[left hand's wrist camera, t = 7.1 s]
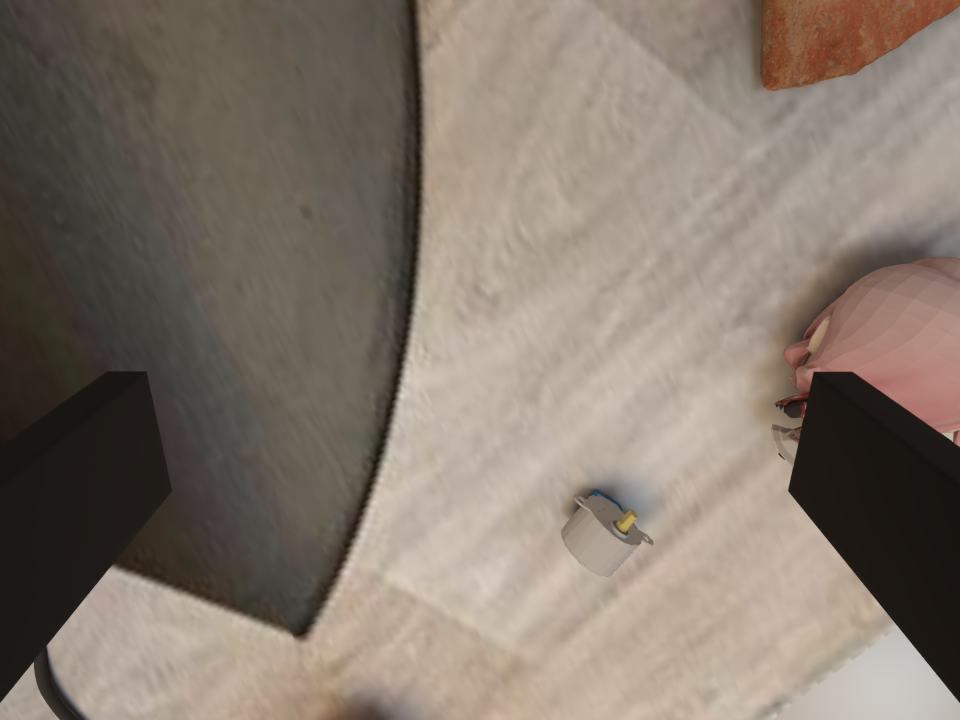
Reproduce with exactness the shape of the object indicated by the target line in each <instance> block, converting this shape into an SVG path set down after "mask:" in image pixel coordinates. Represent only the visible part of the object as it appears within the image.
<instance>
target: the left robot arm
mask: <svg viewBox="0 0 960 720" xmlns="http://www.w3.org/2000/svg"><path fill="white" fill-rule="evenodd" d="M171 491H172V489H171V484H170V480H169V475H168V470H167V466H166V461H165V456H164V452H163V447H162V442H161V437H160V433H159V428H158V423H157V419H156V414H155V409H154V405H153V400H152V395H151V391H150V386H149V381H148V377H147V372H106V373H105V374H103V375H102V376H100V377H99V378H98V379H96V380H95V381H93V382H92V383H90V384H89V385H88V386H86V387H85V388H83V389H82V390H80V391H79V392H78V393H76V394H75V395H73V396H72V397H70V398H69V399H68V400H66V401H65V402H63V403H62V404H60V405H59V406H58V407H56V408H55V409H53V410H52V411H50V412H49V413H48V414H46V415H45V416H43V417H42V418H40V419H39V420H38V421H36V422H35V423H33V424H32V425H30V426H29V427H28V428H26V429H25V430H23V431H22V432H20V433H19V434H18V435H16V436H15V437H13V438H12V439H10V440H9V441H8V442H6V443H5V444H3V445H2V446H0V702H1V701H2V700H3V699H4V698H5V696H6V695H7V694H8V693H9V691H10V690H11V689H12V688H13V686H14V685H15V684H16V683H17V681H18V680H19V679H20V678H21V677H22V675H23V674H24V673H25V672H26V670H27V669H28V668H29V667H30V665H31V664H32V663H33V662H34V660H35V659H36V658H37V657H38V656H39V654H40V653H41V652H42V651H43V649H44V648H45V647H46V646H47V644H48V643H49V642H50V641H51V640H52V638H53V637H54V636H55V635H56V633H57V632H58V631H59V630H60V628H61V627H62V626H63V625H64V623H65V622H66V621H67V620H68V619H69V617H70V616H71V615H72V614H73V612H74V611H75V610H76V609H77V607H78V606H79V605H80V604H81V602H82V601H83V600H84V599H85V598H86V596H87V595H88V594H89V593H90V591H91V590H92V589H93V588H94V586H95V585H96V584H97V583H98V582H99V580H100V579H101V578H102V577H103V575H104V574H105V573H106V572H107V570H108V569H109V568H110V567H111V565H112V564H113V563H114V562H115V561H116V559H117V558H118V557H119V556H120V554H121V553H122V552H123V551H124V549H125V548H126V547H127V546H128V544H129V543H130V542H131V541H132V540H133V538H134V537H135V536H136V535H137V533H138V532H139V531H140V530H141V528H142V527H143V526H144V525H145V523H146V522H147V521H148V520H149V519H150V517H151V516H152V515H153V514H154V512H155V511H156V510H157V509H158V507H159V506H160V505H161V504H162V503H163V501H164V500H165V499H166V498H167V496H168V495H169V494H170V493H171ZM788 491H789V493H790V494H791V495H792V496H793V498H794V499H795V500H796V501H797V503H798V504H799V505H800V506H801V507H802V509H803V510H804V511H805V512H806V514H807V515H808V516H809V517H810V519H811V520H812V521H813V522H814V523H815V525H816V526H817V527H818V528H819V530H820V531H821V532H822V533H823V535H824V536H825V537H826V538H827V540H828V541H829V542H830V543H831V544H832V546H833V547H834V548H835V549H836V551H837V552H838V553H839V554H840V556H841V557H842V558H843V559H844V561H845V562H846V563H847V564H848V565H849V567H850V568H851V569H852V570H853V572H854V573H855V574H856V575H857V577H858V578H859V579H860V580H861V582H862V583H863V584H864V585H865V586H866V588H867V589H868V590H869V591H870V593H871V594H872V595H873V596H874V598H875V599H876V600H877V601H878V602H879V604H880V605H881V606H882V607H883V609H884V610H885V611H886V612H887V614H888V615H889V616H890V617H891V619H892V620H893V621H894V622H895V623H896V625H897V626H898V627H899V628H900V630H901V631H902V632H903V633H904V635H905V636H906V637H907V638H908V639H909V641H910V642H911V643H912V644H913V646H914V647H915V648H916V649H917V651H918V652H919V653H920V654H921V656H922V657H923V658H924V659H925V660H926V662H927V663H928V664H929V665H930V667H931V668H932V669H933V670H934V672H935V673H936V674H937V675H938V677H939V678H940V679H941V680H942V681H943V683H944V684H945V685H946V686H947V688H948V689H949V690H950V691H951V693H952V694H953V695H954V696H955V698H956V699H957V700H958V701H959V702H960V446H958V445H957V444H955V443H954V442H952V441H951V440H950V439H948V438H947V437H945V436H944V435H942V434H941V433H940V432H938V431H937V430H935V429H934V428H932V427H931V426H930V425H928V424H927V423H925V422H924V421H922V420H921V419H920V418H918V417H917V416H915V415H914V414H912V413H911V412H910V411H908V410H907V409H905V408H904V407H902V406H901V405H900V404H898V403H897V402H895V401H894V400H892V399H891V398H890V397H888V396H887V395H885V394H884V393H882V392H881V391H880V390H878V389H877V388H875V387H874V386H872V385H871V384H870V383H868V382H867V381H865V380H864V379H862V378H861V377H860V376H858V375H857V374H855V373H854V372H813V377H812V381H811V386H810V391H809V395H808V400H807V405H806V409H805V414H804V419H803V423H802V428H801V433H800V437H799V442H798V447H797V452H796V456H795V461H794V466H793V470H792V475H791V480H790V484H789V489H788Z"/></svg>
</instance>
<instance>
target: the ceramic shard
mask: <svg viewBox="0 0 960 720" xmlns="http://www.w3.org/2000/svg"><path fill="white" fill-rule="evenodd" d="M958 6H960V0H763V8H762V31H761V40H762V44H761V72H760V74H761V79H762V83H763V86H764V87H765V88H766V89H767V90H772V91H775V90H779V89H783V88H791V87H802V86H804V85H808V84H815V83H817V82H819V81H822V80H826V79H830V78H835V77H839V76H844V75H853V74H856V73H857V72H858V71H859V70H861V69H862V68H863V67H864V66H866V65H868V64H870V63H872V62H874V61H875V60H876V59H878V58H879V57H881V56H883V55H884V54H886V53H888V52H890V51H892V50H893V49H895V48H897V47H899V46H900V45H901V44H903V43H904V42H905V41H906V40H907V39H908V38H909V37H911V36H912V35H914V34H915V33H916V32H918V31H920V30H922V29H924V28H925V27H926V26H928V25H929V24H930V23H932V22H933V21H936V20H938V19H941V18H943V17H944V16H946V15H948V14H949V13H950V12H952V11H953V10H954V9H956V8H957V7H958Z"/></svg>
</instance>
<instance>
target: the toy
mask: <svg viewBox="0 0 960 720" xmlns="http://www.w3.org/2000/svg"><path fill="white" fill-rule="evenodd" d="M784 356H785V358H786V360H787V362H788V363H789V364H790V366H791V367H792V368H793V369H794V372H795V374H794V375H793V376H791V377H789V380H790V382H791V383H792V385H793V386H794V387H797V389H798V390H799V393H793V394H794V395H796V396H792V397H789V398H786V399H783V400H781V401H778V402H776V403H774V404H775V405H776V407H778V405H779V407H780V409H782V408H783V407H784V413H786V414H787V415H788V416H789V417H790V418H804V414H805V409H806V405H807V400H808V395H809V391H810V386H811V381H812V377H813V372H854V373H855V374H857V375H858V376H860V377H861V378H862V379H864V380H865V381H867V382H868V383H870V384H871V385H872V386H874V387H875V388H877V389H878V390H880V391H881V392H882V393H884V394H885V395H887V396H888V397H890V398H891V399H892V400H894V401H895V402H897V403H898V404H900V405H901V406H902V407H904V408H905V409H907V410H908V411H910V412H911V413H912V414H914V415H915V416H917V417H918V418H920V419H921V420H922V421H924V422H925V423H927V424H928V425H930V426H931V427H932V428H934V429H935V430H937V431H938V432H940V433H951V432H954V437H953V442H954V443H955V444H957V445H958V446H960V259H959V258H951V257H932V258H923V259H920V260H917V261H915V262H912V263H909V264H907V263H905V264H898V265H893V266H887V267H883V268H880V269H877V270H875V271H873V272H871V273H869V274H868V275H866V276H864V277H862V278H861V279H859V280H858V281H857V282H855V283H854V284H853V285H851V286H850V287H849V288H847V290H846V291H845V293H844V294H843V295H841V296H840V297H839V298H838V299H836V300H835V301H834V302H833V303H831V304H830V305H829V306H828V307H827V308H826V309H825V310H824V311H823V312H822V313H821V314H820V315H819V316H818V317H817V318H816V319H815V320H814V321H813V323H812V324H811V325H810V326H809V328H808V329H807V330H806V332H805V334H804V336H803V340H802V341H800V342H797V343H794V344H792V345H789V346H788V347H786V348H785V349H784ZM801 428H802V426H801V427H798V428H795V429H789V428H788V429H786V428H783V427H781V426H778V425H775V424H773V426H772V429H771V430H772V437H773V441H774V443H775V446H776V448H777V450H778V452H779V453H778V454H779V455H780V456H781V457H782V458H783V459H785V460H786V461H787V462H788V463H789V464H790V465H791V466H792V467H793V466H794V461H795V456H796V452H797V447H798V442H799V437H800V433H801Z"/></svg>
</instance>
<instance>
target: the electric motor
mask: <svg viewBox="0 0 960 720" xmlns="http://www.w3.org/2000/svg"><path fill="white" fill-rule="evenodd" d="M578 498H579V499H581V500H582V501H583V502H584V503H582V502H580V500H579V499H578ZM574 499H575V501H576V502H577V503H578V504H579V505H580V506H581V507H580V508H579V509H578V510H577V512H576V513H575V514H574V515H573V516H572V517H571V519H570V520H569V521H568V522H567V523H566V525H565V526H564V527H563V528H562V531H561V535H562V539H563V541H564V544H565V546H566V547H567V549H568V550H569V552H570V553H571V554H572V555H573V556H574V557H575V558H576V559H577V560H578V562H579V563H580V564H582V565H583V566H584V567H585V568H587V569H588V570H590V571H592V572H593V573H595V574H597V575H600V576H606V577H607V576H611V575H612V574H613V573H614V572H615V571H616V570H617V569H618V568H619V566H620V565H621V564H622V563H623V562H624V561H625V560H626V559H627V558H628V557H629V556H630V555H631V553H632V552H633V551H634V550H635V549H636V548H637V547H638V546H639V545H640V544H641V542H643V543H645V544H647V545H649V546H653V545H654V544H653V541H652V539H651V538H650V537H649V536H648V535H647V534H645V533H643V532H641V531H640V530H638V529H637V527H636V526H635V524H634V523H633V522H634V521H635V520H636V519H637V515H636V513H635V512H634V511H633V510H631V509H629V511H628V512H627V513H626V514H624V513H623V512H622V511H623V510H622V507H621V505H620V504H619V503H617V502H615V501H614V500H612V499H610V498H609V497H607V496H605V495H603V494H602V493H600V492H598V491H596V490H595V491H594V492H593V493H592V495H591V496H589V497H588V498H587V499H585V498H583V497H582V496H580V495H579V494H575V495H574ZM643 536H644V537H646V538H647V539H648V541H647V540H646V539H645V538H644V537H643Z"/></svg>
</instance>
